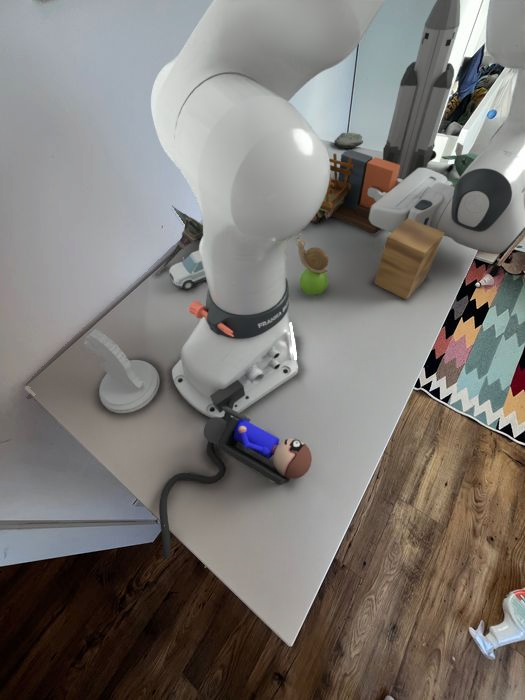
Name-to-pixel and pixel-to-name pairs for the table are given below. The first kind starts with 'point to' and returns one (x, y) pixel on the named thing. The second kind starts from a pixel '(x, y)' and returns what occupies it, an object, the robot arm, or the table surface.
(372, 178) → the back pad
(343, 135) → the stone
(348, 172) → the toy truck
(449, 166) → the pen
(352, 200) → the pad mount
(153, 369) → the white curved piece
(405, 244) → the block
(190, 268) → the toy car
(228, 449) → the character figurine
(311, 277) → the snail figurine
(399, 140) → the toy rocket
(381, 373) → the table surface
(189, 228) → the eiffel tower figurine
